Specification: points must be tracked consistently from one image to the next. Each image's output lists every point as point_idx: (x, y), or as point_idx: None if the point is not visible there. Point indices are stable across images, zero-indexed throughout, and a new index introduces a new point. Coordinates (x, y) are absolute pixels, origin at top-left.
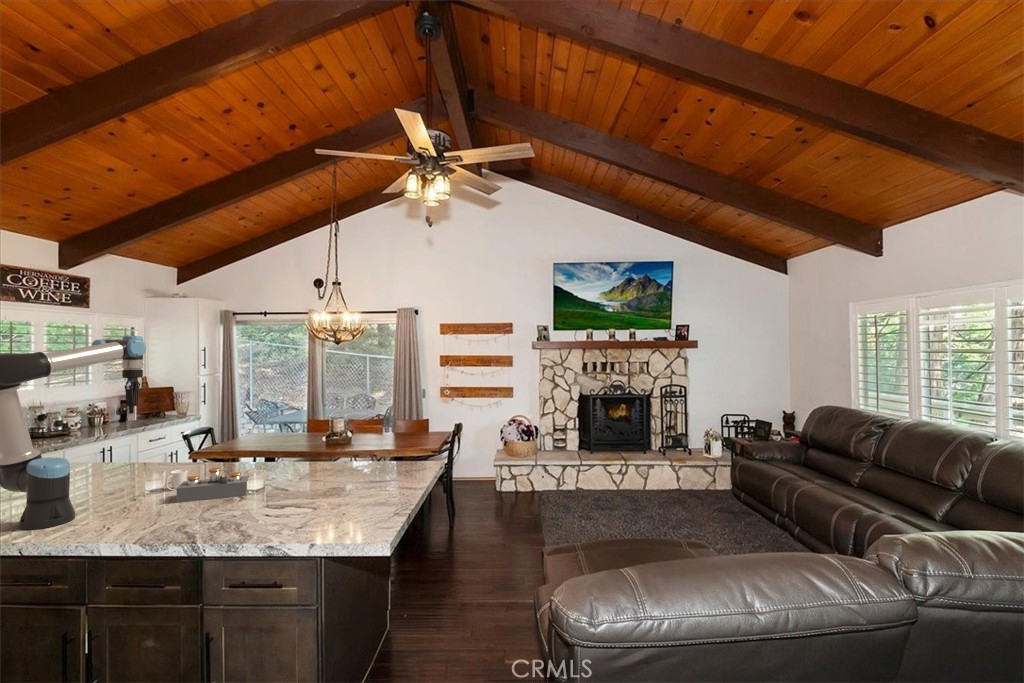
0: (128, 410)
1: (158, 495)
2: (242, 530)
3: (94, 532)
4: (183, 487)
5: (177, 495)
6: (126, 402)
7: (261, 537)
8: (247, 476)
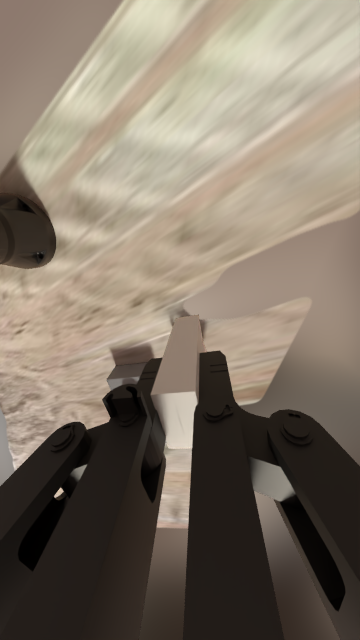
0: (162, 365)
1: (157, 329)
2: (33, 437)
3: (5, 323)
4: (111, 386)
5: (111, 373)
6: (15, 475)
7: (21, 449)
8: (165, 441)
